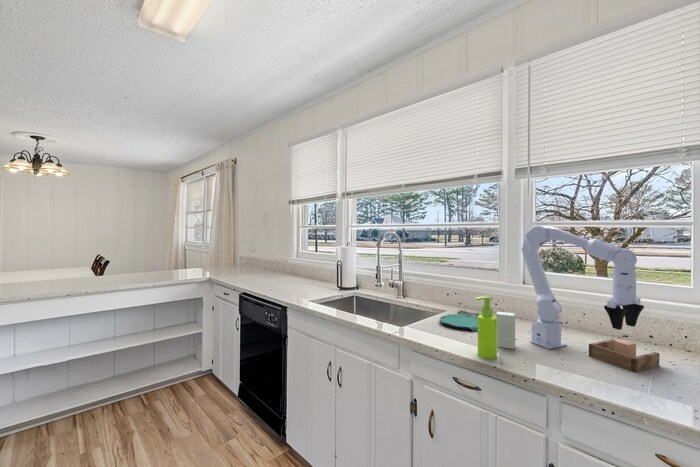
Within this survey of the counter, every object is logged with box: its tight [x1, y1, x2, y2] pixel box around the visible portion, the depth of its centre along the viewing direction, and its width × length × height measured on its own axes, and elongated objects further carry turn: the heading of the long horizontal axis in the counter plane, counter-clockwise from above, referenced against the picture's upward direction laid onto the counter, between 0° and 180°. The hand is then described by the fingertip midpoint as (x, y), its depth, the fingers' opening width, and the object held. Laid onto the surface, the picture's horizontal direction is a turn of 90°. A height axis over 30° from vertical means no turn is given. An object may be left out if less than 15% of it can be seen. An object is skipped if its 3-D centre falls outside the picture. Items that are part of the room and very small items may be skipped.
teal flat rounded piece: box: [438, 309, 482, 332], centre depth 144 cm, size 20×30×2 cm, turn 142°
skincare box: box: [496, 311, 516, 350], centre depth 114 cm, size 6×4×12 cm
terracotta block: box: [614, 339, 637, 357], centre depth 101 cm, size 4×4×6 cm
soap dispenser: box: [474, 295, 498, 360], centre depth 106 cm, size 6×7×20 cm
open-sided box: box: [588, 338, 660, 373], centre depth 101 cm, size 12×13×4 cm
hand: (623, 327), depth 102 cm, fingers open, 7 cm apart
